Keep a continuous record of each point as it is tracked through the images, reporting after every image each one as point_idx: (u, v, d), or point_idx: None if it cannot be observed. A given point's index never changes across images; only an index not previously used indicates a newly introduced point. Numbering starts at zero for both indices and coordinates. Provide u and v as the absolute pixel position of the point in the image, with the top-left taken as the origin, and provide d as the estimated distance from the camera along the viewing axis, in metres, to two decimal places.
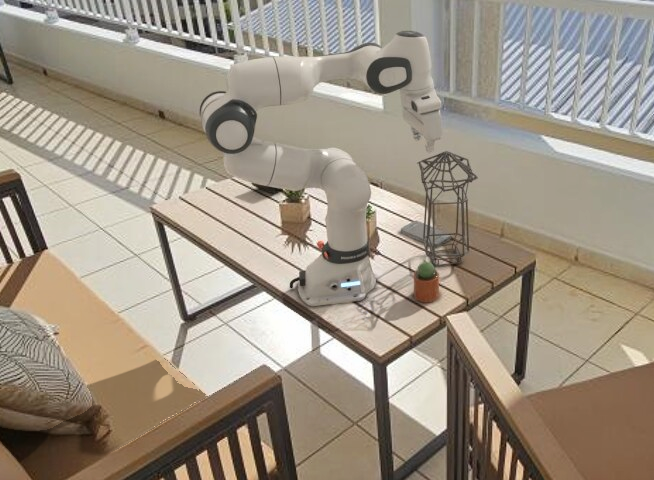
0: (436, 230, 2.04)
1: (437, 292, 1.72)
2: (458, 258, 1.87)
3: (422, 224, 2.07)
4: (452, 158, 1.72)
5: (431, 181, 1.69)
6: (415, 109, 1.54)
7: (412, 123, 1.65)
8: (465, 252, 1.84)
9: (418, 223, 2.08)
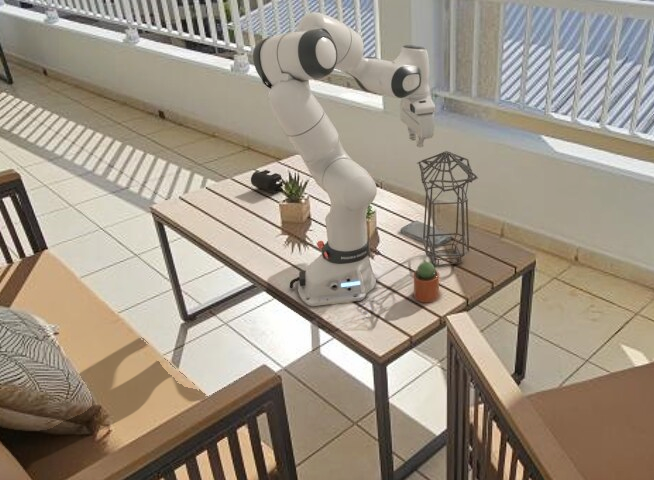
0: (436, 230, 2.04)
1: (437, 292, 1.72)
2: (458, 258, 1.87)
3: (422, 224, 2.07)
4: (452, 158, 1.72)
5: (431, 181, 1.69)
6: (413, 110, 1.82)
7: (408, 123, 1.93)
8: (465, 252, 1.84)
9: (418, 223, 2.08)
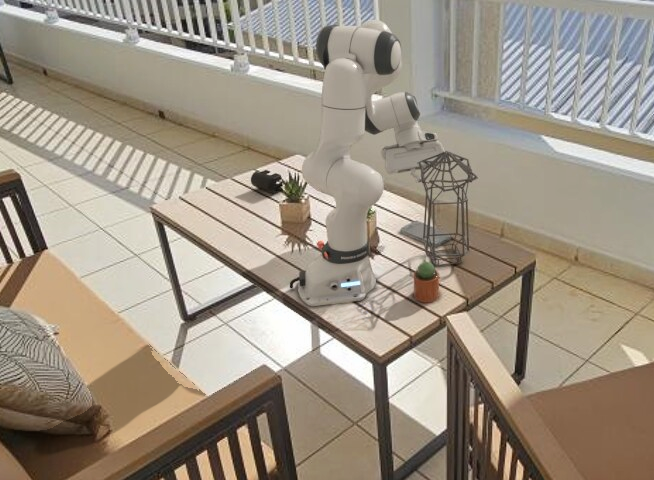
0: (436, 230, 2.04)
1: (437, 292, 1.72)
2: (458, 258, 1.87)
3: (422, 224, 2.07)
4: (452, 158, 1.72)
5: (431, 181, 1.69)
6: (432, 137, 2.00)
7: (412, 162, 1.98)
8: (465, 252, 1.84)
9: (418, 223, 2.08)
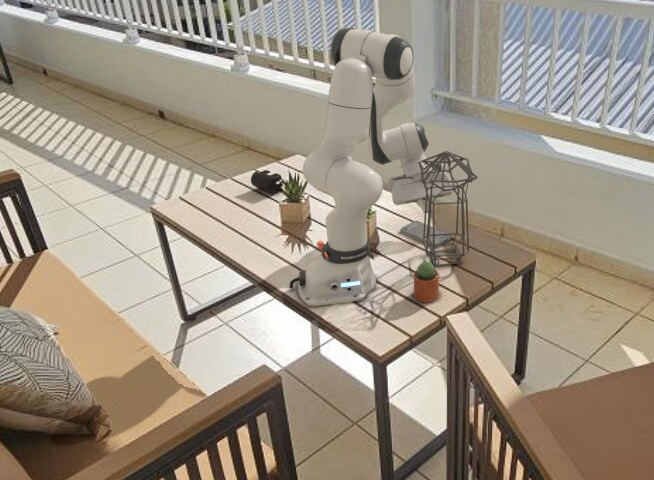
0: (436, 230, 2.04)
1: (437, 292, 1.72)
2: (458, 258, 1.87)
3: (422, 224, 2.07)
4: (452, 158, 1.72)
5: (431, 181, 1.69)
6: (439, 168, 1.99)
7: (419, 193, 1.97)
8: (465, 252, 1.84)
9: (418, 223, 2.08)
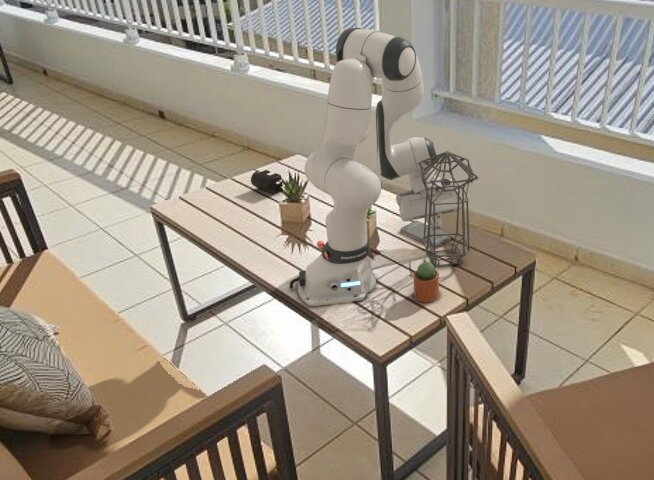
0: (436, 230, 2.04)
1: (437, 292, 1.72)
2: (458, 258, 1.87)
3: (422, 224, 2.07)
4: (453, 158, 1.72)
5: (432, 181, 1.69)
6: (447, 183, 1.95)
7: (428, 209, 1.92)
8: (466, 252, 1.84)
9: (418, 223, 2.08)
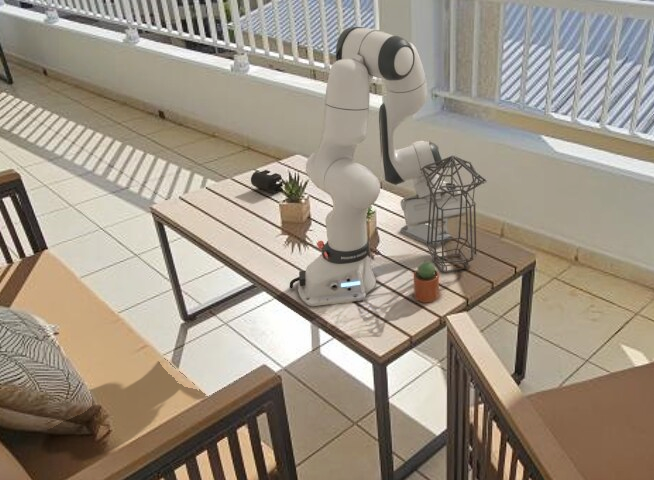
0: None
1: (437, 292, 1.72)
2: (465, 263, 1.85)
3: (422, 224, 2.07)
4: (459, 162, 1.70)
5: (441, 187, 1.66)
6: None
7: None
8: (473, 256, 1.82)
9: None
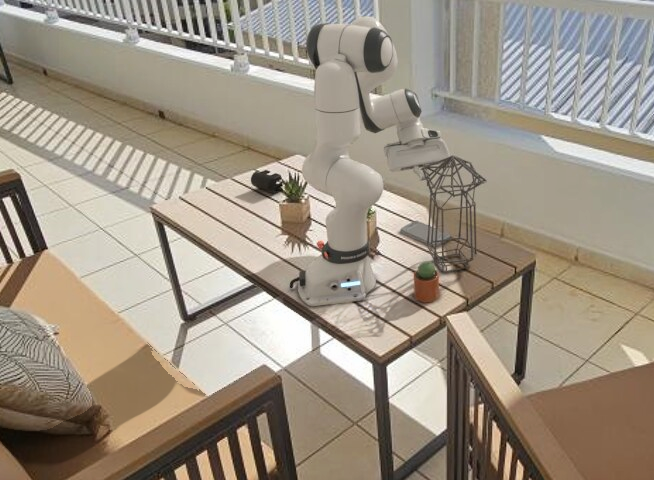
0: None
1: (437, 292, 1.72)
2: (465, 263, 1.85)
3: (422, 224, 2.07)
4: (459, 162, 1.70)
5: (441, 187, 1.66)
6: (435, 134, 1.96)
7: (415, 160, 1.94)
8: (473, 256, 1.82)
9: (418, 223, 2.08)
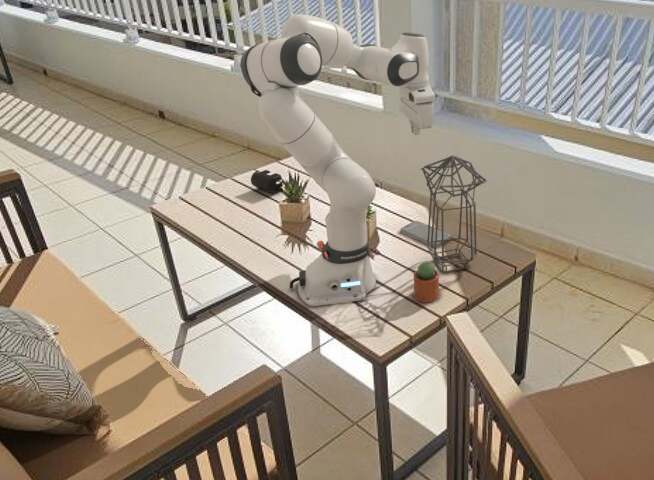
0: None
1: (437, 292, 1.72)
2: (465, 263, 1.85)
3: (422, 224, 2.07)
4: (459, 162, 1.70)
5: (441, 187, 1.66)
6: (412, 99, 1.78)
7: (407, 113, 1.89)
8: (473, 256, 1.82)
9: (418, 223, 2.08)
